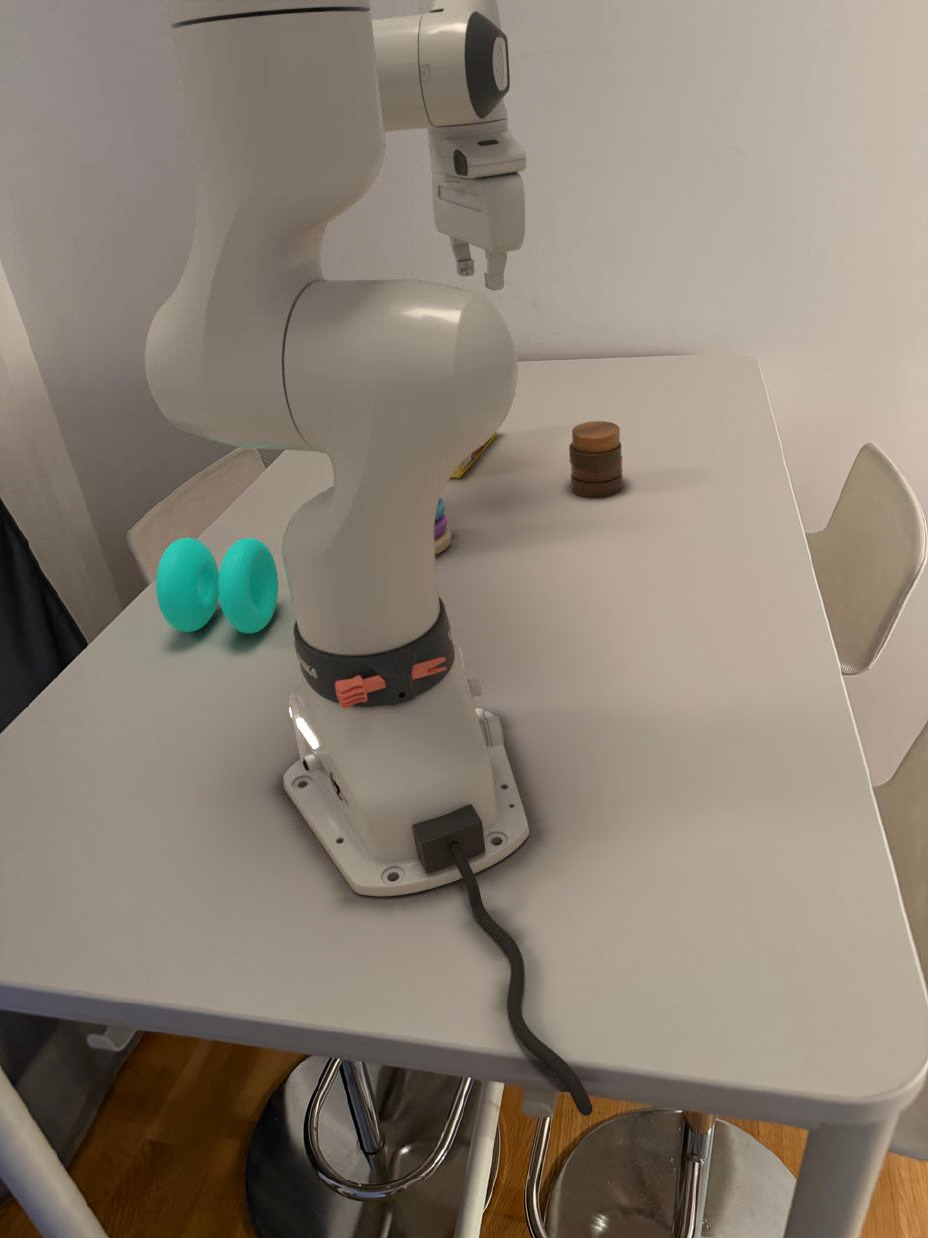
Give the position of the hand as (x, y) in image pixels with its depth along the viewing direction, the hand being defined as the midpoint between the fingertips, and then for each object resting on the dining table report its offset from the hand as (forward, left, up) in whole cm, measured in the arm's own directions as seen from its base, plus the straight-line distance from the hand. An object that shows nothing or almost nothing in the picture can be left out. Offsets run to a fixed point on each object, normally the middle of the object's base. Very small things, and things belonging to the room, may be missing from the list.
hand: (479, 281), depth 108 cm
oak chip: (-6, -12, -21) cm, 25 cm away
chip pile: (-6, -12, -27) cm, 30 cm away
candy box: (+13, -2, -27) cm, 30 cm away
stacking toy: (-10, +14, -27) cm, 32 cm away
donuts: (-17, +38, -27) cm, 50 cm away
